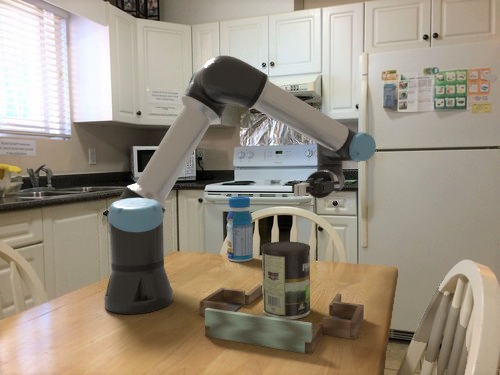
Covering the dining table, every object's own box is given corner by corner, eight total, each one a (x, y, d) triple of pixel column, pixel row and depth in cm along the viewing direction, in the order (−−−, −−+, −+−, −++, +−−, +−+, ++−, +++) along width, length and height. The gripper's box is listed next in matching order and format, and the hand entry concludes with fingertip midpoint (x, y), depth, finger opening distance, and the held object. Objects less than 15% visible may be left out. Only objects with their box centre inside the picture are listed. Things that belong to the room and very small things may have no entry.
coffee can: (311, 303, 94) (311, 241, 93) (309, 321, 84) (308, 252, 83) (266, 301, 97) (265, 240, 95) (258, 318, 86) (257, 250, 85)
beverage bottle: (244, 263, 130) (243, 199, 129) (221, 260, 135) (220, 198, 133) (258, 257, 138) (257, 196, 136) (236, 255, 142) (235, 195, 141)
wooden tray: (177, 331, 81) (176, 305, 80) (236, 289, 105) (235, 270, 105) (347, 360, 68) (347, 330, 68) (368, 306, 92) (369, 283, 92)
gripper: (346, 197, 116) (327, 207, 95) (299, 196, 122) (270, 205, 100) (346, 170, 116) (327, 174, 94) (299, 170, 121) (270, 174, 100)
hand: (298, 190), depth 97 cm, fingers closed
